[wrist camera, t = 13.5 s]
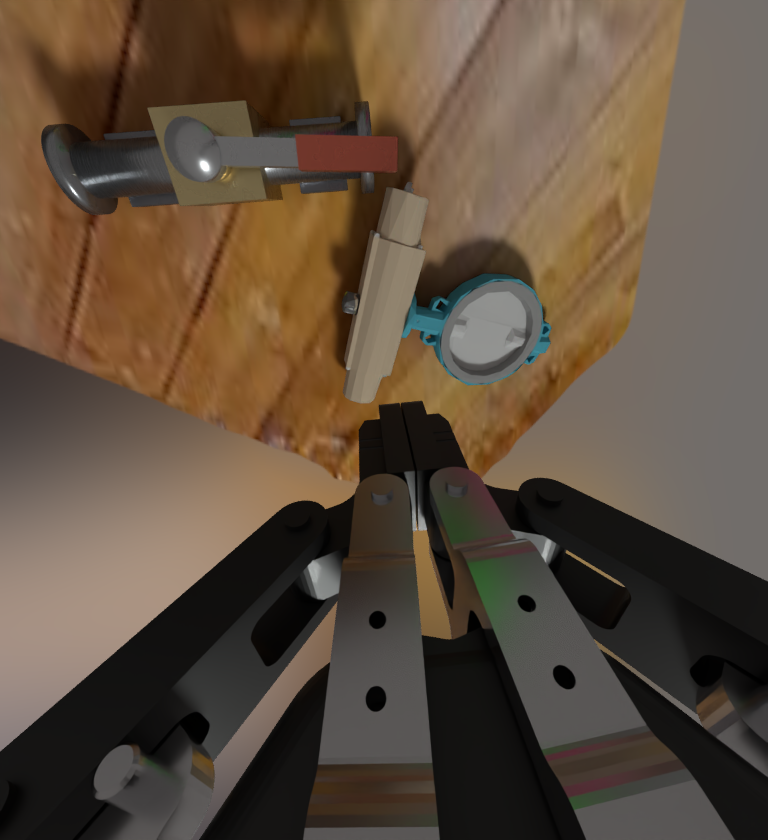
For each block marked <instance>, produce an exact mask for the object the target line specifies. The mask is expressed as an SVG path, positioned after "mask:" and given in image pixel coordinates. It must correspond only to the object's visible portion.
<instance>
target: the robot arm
mask: <svg viewBox="0 0 768 840" xmlns="http://www.w3.org/2000/svg"><path fill="white" fill-rule="evenodd" d="M379 415H380V419H376V420H366V421H364V423H363V424H362V426H361V427H360V429H359V472H360V482H359V485H358V486H357V488H356V491H355V494H354V495H353V496H352V497H351V498H350V499H348V500H347V501H345V502H343V503H341V504H339V505H336V506H334V507H331V508H328V509H325V508H324V507H323V506H322V505H320V504H319V503H316V502H313V501H298V502H294V503H291V504H289V505H287V506H285V507H283V508H282V509H281V510H279V512H277V513H276V514H275V515H274V516H272V517H271V518H270V519H269V520H268V521H267V522H265V523H264V524H263V525H262V526H261V527H260V528H259V529H257V530H256V531H255V532H254V533H253V534H252V535H251V536H249V537H248V538H247V539H246V540H245V541H243V542H242V543H241V544H240V545H239V546H238V547H237V548H235V550H233V551H232V552H231V553H230V554H228V555H227V556H226V557H225V558H224V559H223V560H222V561H220V562H219V563H218V564H217V565H216V566H215V567H213V568H212V569H211V570H210V571H209V572H208V573H206V574H205V575H204V576H203V577H202V578H201V579H200V580H198V581H197V582H196V583H195V584H194V585H193V586H191V587H190V588H189V589H188V590H187V591H186V592H185V593H183V594H182V595H181V596H180V597H179V598H178V599H176V600H175V601H174V602H173V603H172V604H171V605H169V606H168V607H167V608H166V609H165V610H164V611H162V612H161V613H160V614H159V615H158V616H157V617H156V618H154V619H153V620H152V621H151V622H150V623H149V624H148V625H146V626H145V627H144V628H143V629H142V630H141V631H139V632H138V633H137V634H136V635H135V636H134V637H132V638H131V639H130V640H129V641H128V642H127V643H126V644H124V645H123V646H122V647H121V648H120V649H119V650H117V651H116V652H115V653H114V654H113V655H112V656H111V657H109V658H108V659H107V660H106V661H105V662H103V663H102V664H101V665H100V666H99V667H98V668H97V669H95V670H94V671H93V672H92V673H91V674H90V675H89V676H87V677H86V678H85V679H84V680H83V681H81V683H79V684H78V685H77V686H76V687H75V688H73V689H72V690H71V691H70V692H69V693H68V694H66V695H65V696H64V697H63V698H62V699H61V700H60V701H58V702H57V703H56V704H55V705H54V706H53V707H52V708H50V709H49V710H48V711H47V712H46V713H44V714H43V715H42V716H41V717H40V718H39V719H38V720H36V721H35V722H34V723H33V724H32V725H31V726H29V727H28V728H27V729H26V730H25V731H24V732H23V733H21V734H20V735H19V736H18V737H17V738H16V739H14V740H13V741H12V742H11V743H10V744H9V745H7V746H6V747H5V748H4V749H3V750H2V751H0V840H191V839H192V837H193V836H194V834H195V832H196V831H197V829H198V827H199V825H200V824H201V822H202V820H203V818H204V816H205V814H206V812H207V809H208V807H209V804H210V801H211V797H212V793H213V788H214V779H215V772H214V765H213V761H214V760H215V759H216V758H217V756H218V755H219V753H220V752H221V751H222V750H223V748H224V747H225V746H226V745H227V743H228V742H229V741H230V739H231V738H232V737H233V735H234V734H235V733H236V732H237V730H238V729H239V728H240V726H241V725H242V724H243V722H244V721H245V720H246V719H247V717H248V716H249V715H250V713H251V712H252V711H253V710H254V708H255V707H256V706H257V704H258V703H259V702H260V701H261V699H262V698H263V696H264V695H265V694H266V693H267V691H268V690H269V689H270V687H271V686H272V685H273V684H274V682H275V681H276V680H277V678H278V677H279V676H280V675H281V673H282V672H283V671H284V669H285V668H286V667H287V666H288V664H289V663H290V661H291V660H292V659H293V658H294V656H295V655H296V654H297V652H298V651H299V650H300V649H301V647H302V646H303V644H305V642H306V641H307V640H308V638H309V637H310V636H311V634H312V633H313V632H314V631H315V629H316V628H317V627H318V625H319V624H320V623H321V621H322V620H323V619H324V617H325V616H326V615H327V614H328V612H329V611H330V610H331V608H332V607H333V606H334V605H335V603H336V602H337V601H338V602H337V610H336V620H335V627H334V635H333V645H332V653H331V661H330V663H328V664H327V665H326V666H324V667H323V668H322V669H321V670H319V671H318V672H317V673H316V674H315V675H314V676H313V677H312V678H311V679H310V680H309V681H308V682H307V683H306V684H305V685H304V686H303V688H302V689H301V690H300V691H299V692H298V693H297V695H296V696H295V698H294V699H293V701H292V702H291V703H290V705H289V707H288V708H287V709H286V711H285V712H284V714H283V715H282V717H281V718H280V720H279V721H278V723H277V724H276V726H275V727H274V729H273V730H272V732H271V733H270V735H269V736H268V738H267V739H266V741H265V742H264V744H263V745H262V747H261V748H260V750H259V751H258V753H257V754H256V756H255V757H254V759H253V760H252V762H251V763H250V765H249V766H248V768H247V769H246V771H245V772H244V774H243V775H242V776H241V778H240V779H239V781H238V783H237V784H236V786H235V787H234V789H233V790H232V791H231V793H230V795H229V796H228V798H227V799H226V800H225V802H224V804H223V805H222V807H221V808H220V809H219V811H218V812H217V814H216V815H215V817H214V818H213V820H212V821H211V823H210V824H209V826H208V827H207V829H206V830H205V832H204V833H203V835H202V836H201V838H200V839H199V840H768V581H765V580H763V579H761V578H759V577H757V576H755V575H753V574H751V573H749V572H747V571H744V570H743V569H740V568H738V567H736V566H734V565H732V564H730V563H728V562H726V561H724V560H722V559H719V558H717V557H715V556H713V555H711V554H709V553H707V552H705V551H703V550H701V549H699V548H697V547H695V546H692V545H690V544H688V543H686V542H684V541H682V540H680V539H678V538H676V537H674V536H672V535H670V534H667V533H665V532H663V531H661V530H659V529H657V528H655V527H653V526H651V525H648V524H646V523H644V522H642V521H640V520H638V519H636V518H634V517H632V516H630V515H628V514H625V513H623V512H622V511H619V510H617V509H615V508H613V507H611V506H609V505H607V504H605V503H603V502H600V501H599V500H596V499H594V498H592V497H590V496H588V495H586V494H584V493H582V492H580V491H577V490H576V489H574V488H571V487H569V486H567V485H565V484H563V483H561V482H558V481H556V480H552V479H548V478H533V479H529V480H527V481H525V482H524V483H522V485H521V486H520V488H519V491H514V490H508V489H500V488H495V487H492V486H488V485H486V484H484V482H483V481H482V479H481V478H480V477H479V476H478V475H477V474H476V473H474V472H473V471H471V470H469V468H468V466H467V464H466V461H465V459H464V457H463V454H462V452H461V450H460V447H459V445H458V443H457V441H456V438H455V436H454V433H453V432H452V429H451V426H450V424H449V422H448V421H447V420H446V419H445V418H444V417H442V416H441V415H440V414H439V413H438V414H428V415H427V413H426V410H425V407H424V404H423V402H422V401H414V402H404V403H401V407H400V403H394V404H383V405H379ZM416 521H417V526H418V530H427V532H428V537H429V554H430V558H431V561H432V564H433V568H434V571H435V574H436V578H437V581H438V584H439V587H440V591H441V594H442V598H443V601H444V604H445V608H446V611H447V614H448V618H449V623H450V629H451V637H452V639H450V640H448V639H441V638H436V637H429V636H423V635H421V623H420V610H419V598H418V586H417V575H416V564H415V555H414V549H413V531H416ZM566 550H568V551H569V552H571V553H573V554H575V555H576V556H578V557H580V558H581V559H583V560H585V561H586V562H588V563H590V564H591V565H593V566H595V567H596V568H598V569H600V570H601V571H603V572H604V573H606V574H608V575H610V576H611V577H613V578H614V579H616V580H618V581H619V582H620V583H622V584H623V585H624V586H625V587H622V586H620V585H618V584H616V583H614V582H613V581H611V580H609V579H607V578H606V577H604V576H603V575H601V574H599V573H598V572H596V571H594V570H593V569H591V568H589V567H588V566H586V565H584V564H583V563H581V562H580V561H578V560H576V559H575V558H573V557H571V556H570V555H568V554H566ZM594 639H595V640H596V641H598V642H599V643H600V644H602V645H603V646H605V647H606V648H607V649H609V650H610V651H611V652H613V653H614V654H615V655H617V656H618V657H619V658H621V659H623V660H624V661H625V662H626V663H628V664H629V665H630V666H632V667H633V668H635V669H636V670H637V671H639V672H640V673H641V674H643V675H644V676H646V677H647V678H648V679H650V680H651V681H652V682H654V683H655V684H657V685H658V686H659V687H661V688H662V689H663V690H665V691H666V692H668V693H669V694H670V695H671V696H673V697H674V698H676V699H677V700H678V701H680V702H681V703H682V704H684V705H685V706H687V707H688V708H690V709H691V710H692V711H694V712H695V713H696V714H698V716H699V719H700V721H701V724H702V725H703V727H702V726H701V725H700V724H698V723H697V722H696V721H695V720H693V719H692V718H691V717H689V716H688V715H687V714H685V713H684V712H683V711H682V710H680V709H679V708H678V707H676V706H675V705H674V704H673V703H671V702H670V701H669V700H667V699H666V698H665V697H664V696H662V695H661V694H660V693H658V692H657V691H656V690H655V689H653V688H652V687H651V686H649V685H648V684H647V683H646V682H644V681H643V680H642V679H640V678H639V677H638V676H636V675H635V674H634V673H633V672H631V671H630V670H629V669H627V668H626V667H625V666H624V665H622V664H621V663H620V662H618V661H617V660H616V659H614V658H612V657H611V656H610V655H608V654H607V653H605V652H603V651H602V650H600V649H599V648H598V646H597V644H596V643H595V641H594Z"/></svg>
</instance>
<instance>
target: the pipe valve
mask: <svg viewBox="0 0 768 840" xmlns="http://www.w3.org/2000/svg"><path fill="white" fill-rule="evenodd" d="M147 109H148V112H149V115H150V118H151V121H152V124H153V127H154V130H150V131H137V132H124V133H111V134H103V135H104V137H105V140H99V141H91V140H90V139H89V138H88V137H87V136H86V135H85V134H84V133H83V132H82V131H81V130H79V129H78V128H76V127H75V126H73V125H70V124H54V125H48V126H46V127H45V128H44V129H43V131H42V136H41V143H42V149H43V153H44V157H45V159H46V162H47V165H48V167H49V169H50V171H51V173H52V175H53V177H54V178H55V180H56V182H57V183H58V185H59V186H60V188H61V189H62V190H63V192H64V193H65V194H66V195H67V196H68V198H69V199H70V200H71V201H72V202H73V203H74V204H75V205H77V206H78V207H79V208H80V209H82V210H83V211H85V212H87V213H89V214H92V215H103V214H111V213H113V212H114V211H115V210H116V208H117V204H118V198H119V197H129V200H130V202H131V205H132V207H148V206H160V205H173V204H179V205H180V206H213V205H226V204H238V203H250V202H263V201H275V200H283V197H282V192H281V187H280V185H282V184H295V183H300V188H301V193H302V194H309V193H322V192H334V191H346V190H348V185H347V179H358V178H360V179H361V188H362V194H363V193H374V173H359V172H302V171H300V170H299V168H244V167H227V169H226V172H225V174H224V175H223V177H222V178H221V179H220V180H218V181H216V182H213V183H204V182H197V181H192V180H190V179H188V178H186V177H184V176H183V175H182V174H180V173H179V172H178V171H177V170H176V169H175V167H174V166H173V165H172V163H171V162H170V160H169V158H168V156H167V153H166V150H165V145H164V134H165V130H166V128H167V125H168V124H169V123H170V122H171V121H172V120H173V119H174V118H176V117H180V116H188V117H192V118H194V119H196V120H198V121H200V122H202V123H204V124H206V125H208V126H209V127H211V128H212V129H213V130H214V131H215V132H216V133H217V134H218V135H219V136H227V137H271V138H295V134H304V135H347V136H372V134H371V122H370V112H369V104H368V101H363V102H355V120H356V121H350V122H341V119H340V116H336V117H323V118H310V119H296V120H289V122H290V126H284V127H271V128H269V125H268V121H267V120H266V119H265V118H264V117H262V116H261V115H260V114H259V113H258V112H257V111H256V110H255V109H254V108H253V107H252V106H251V105H250V104H249V103H248V102H247V101H232V102H219V103H205V104H191V105H178V106H164V107H151V108H147Z"/></svg>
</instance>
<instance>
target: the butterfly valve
mask: <svg viewBox="0 0 768 840" xmlns="http://www.w3.org/2000/svg"><path fill="white" fill-rule="evenodd" d="M412 184H413V183H411V182H407V184H406V186H405V188H404V191H402V190H399V189H396V188H391V187H387V188H386V192H385V197H384V201H383V205H382V210H381V214H380V218H379V222H378V227H377V231H373V230H371V232H370V236H369V241H368V245H367V250H366V255H365V260H364V265H363V270H362V275H361V279H360V284H359V289H358V294H357V293H353V292H349V291H346V293H345V295H344V298H343V300H342V310H343V312H344V313H350V314H353V318H352V323H351V328H350V333H349V338H348V342H347V347H346V352H345V357H344V361H345V363H346V369H347V372H346V378H345V383H344V388H343V394H344V395H345V397H346V398H348V399H349V400H351V401H354V402H358V403H370V402H372V401H373V400H374V398H375V395H376V392H377V389H378V387H379V384H380V381H381V379H382V377H386V376H387V375H389V376H390V374H391V371H392V368H393V364H394V361H395V357H396V354H397V350H398V347H399V343H400V340H401V338H406V337H407V336H408V334H409V333H410V331H411V328H413V329H417V330H421V334H420V339H421V340H422V341H423V342H424V343H425V344H426V345H433V347H434V350H435V353H436V356H437V358H438V360H439V361H440V363H441V364H442V365H443V367H444V368H445V370H446V371H447V373H448V374H450V375H451V376H453V377H455V378H456V379H458V380H460V381H462V382H463V383H465V384H467V385H483V384H490V383H493V382H496V381H498V380H501V379H504V378H506V377H508V376H510V375H511V374H513V373H514V372H515V371H517V370H518V369H519V368H520V366H521V365H522V364H523V363H526V364H531V363H533V362H534V361H535V359H536V358H537V356H538V355H539V353H545V352H546V350H547V348H548V346H549V345H550V340H549V337H548V335H549V333H550V330H551V326H550V325H549V323H547V322H545V321H543V313H542V305H541V303H540V301H539V299H538V297H537V295H536V293H535V291H534V290H533V289H532V288H530V287H529V286H528V285H526V284H525V283H524V282H522V281H521V280H519V279H517V278H514V277H512V276H509V275H507V274H481V275H479V276H477V277H475V278H473V279H470V280H468V281H466V282H464V283H462V284H461V285H460V286H458V287H457V288H456V289H455V290H454V291H452V292H451V293H450V294H449V296H448V297H447V299H445V298H443V297H440V296H436V297H433V298H432V300H431V302H430V305H429V307H428V308H426V307H420V306H416V303H417V300H416V296H415V293H414V292H415V288H416V285H417V281H418V278H419V274H420V271H421V268H422V264H423V261H424V257H425V254H426V251H425V250H423V249H422V247H423V246H421V231H422V227H423V223H424V218H425V214H426V210H427V206H428V202H429V200H428V199H427V198H424V197H421V196H418V195H415V194H413V190H414V189H412V188H411V186H412ZM440 300H441V301H442V302H443V304H442V306H441V307H440V308H439V309H438V308H436V306H437V305H438V303H439V302H440ZM430 334H432V335H431V338H429V339H425V337H427V336H428V335H430Z"/></svg>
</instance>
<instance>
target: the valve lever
mask: <svg viewBox="0 0 768 840" xmlns="http://www.w3.org/2000/svg"><path fill="white" fill-rule="evenodd" d="M164 145H165V150H166V153H167V156H168V158H169V160H170V162H171V163H172V165H173V166H174V167H175V169H176V170H177V171H178V172H179V173H180V174H182V175H183V176H184V177H186V178H188V179H190V180H192V181H197V182H204V183H213V182H216V181H218V180H220V179H221V178H222V177H223V175H224V174H225V172H226V169H227V167H244V168H299V170H300V171H302V172H359V173H396V172H397V161H398V137H390V136H347V135H304V134H295V138H271V137H227V136H219V135H218V134H217V133H216V132H215V131H214V130H213V129H212V128H211V127H209V126H208V125H206V124H204V123H202V122H200V121H198V120H196V119H194V118H192V117H188V116H180V117H176V118H174V119H173V120H172V121H171V122H170V123H169V124H168V125H167V128H166V130H165V134H164Z"/></svg>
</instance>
